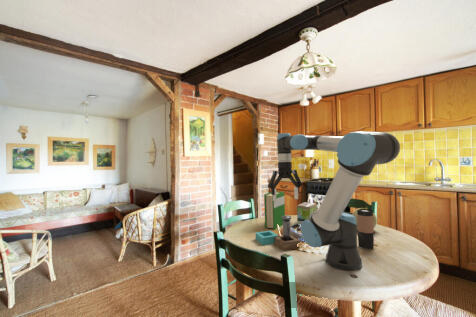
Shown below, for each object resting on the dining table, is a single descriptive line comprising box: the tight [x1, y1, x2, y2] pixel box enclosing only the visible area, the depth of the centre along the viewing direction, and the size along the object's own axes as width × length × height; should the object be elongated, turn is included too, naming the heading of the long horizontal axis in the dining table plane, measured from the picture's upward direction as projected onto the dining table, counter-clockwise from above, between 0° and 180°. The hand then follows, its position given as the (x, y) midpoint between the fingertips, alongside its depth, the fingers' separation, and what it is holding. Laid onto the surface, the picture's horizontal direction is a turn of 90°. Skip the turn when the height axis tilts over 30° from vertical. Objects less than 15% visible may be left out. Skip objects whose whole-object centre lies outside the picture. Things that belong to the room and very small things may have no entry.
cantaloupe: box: [351, 207, 378, 229], centre depth 148 cm, size 15×15×15 cm
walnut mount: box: [274, 235, 301, 251], centre depth 123 cm, size 10×10×5 cm
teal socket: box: [255, 230, 279, 246], centre depth 131 cm, size 10×10×5 cm
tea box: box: [296, 201, 318, 225], centre depth 166 cm, size 15×10×15 cm, turn 143°
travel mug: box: [357, 208, 375, 250], centre depth 121 cm, size 8×8×20 cm
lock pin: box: [281, 214, 292, 241], centre depth 123 cm, size 5×5×16 cm
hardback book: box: [263, 190, 286, 231], centre depth 163 cm, size 18×7×24 cm, turn 144°
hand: (285, 199), depth 123 cm, fingers open, 13 cm apart
